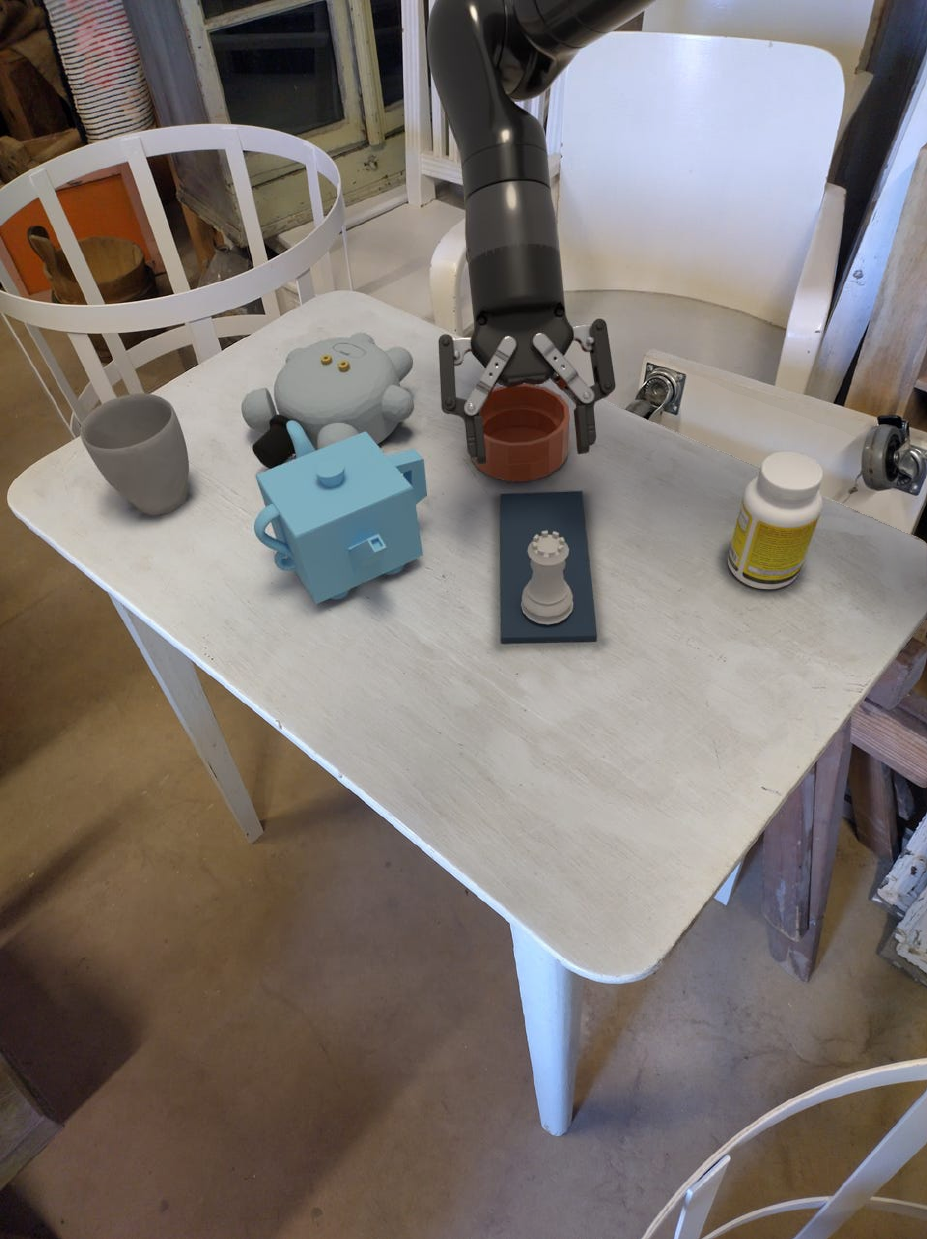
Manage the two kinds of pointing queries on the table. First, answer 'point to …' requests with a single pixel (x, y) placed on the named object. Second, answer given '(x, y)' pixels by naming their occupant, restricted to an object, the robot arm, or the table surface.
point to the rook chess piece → (547, 581)
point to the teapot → (342, 512)
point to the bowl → (524, 432)
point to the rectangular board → (517, 531)
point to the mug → (140, 451)
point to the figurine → (331, 396)
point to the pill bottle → (776, 521)
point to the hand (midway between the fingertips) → (533, 458)
